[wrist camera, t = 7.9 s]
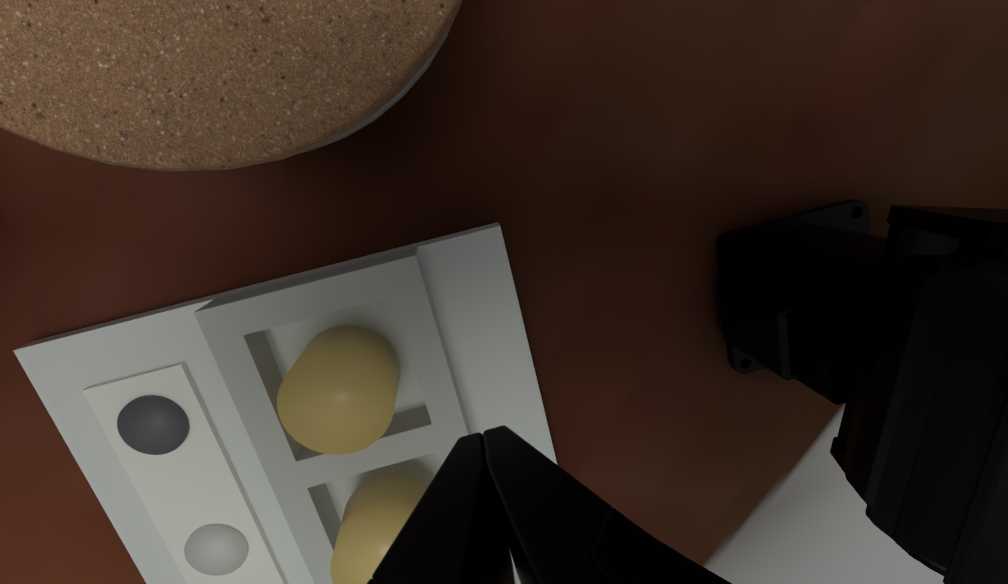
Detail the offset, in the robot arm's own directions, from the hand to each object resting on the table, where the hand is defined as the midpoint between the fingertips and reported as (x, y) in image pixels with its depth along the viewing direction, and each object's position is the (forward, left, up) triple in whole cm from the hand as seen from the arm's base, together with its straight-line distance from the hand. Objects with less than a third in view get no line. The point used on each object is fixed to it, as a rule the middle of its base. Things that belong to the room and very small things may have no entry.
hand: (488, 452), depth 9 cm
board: (+7, +8, -12) cm, 16 cm away
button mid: (+5, +8, -10) cm, 13 cm away
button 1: (+5, +2, -11) cm, 12 cm away
